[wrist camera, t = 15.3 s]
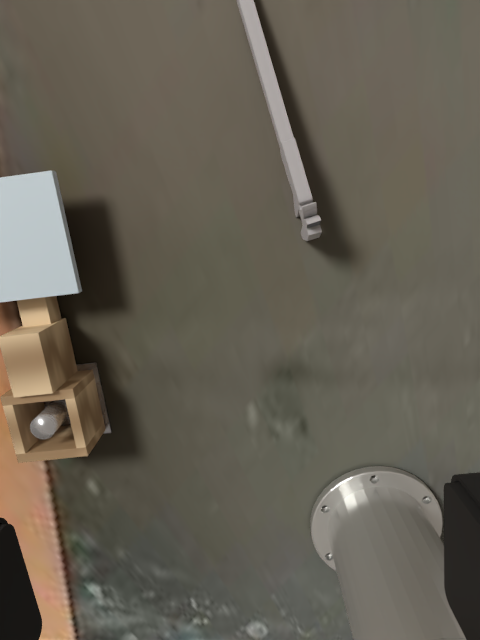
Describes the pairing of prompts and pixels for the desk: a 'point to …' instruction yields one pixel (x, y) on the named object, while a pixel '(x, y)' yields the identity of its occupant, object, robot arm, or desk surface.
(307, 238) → the caliper
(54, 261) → the plate
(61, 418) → the pintle
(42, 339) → the link
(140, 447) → the desk surface
